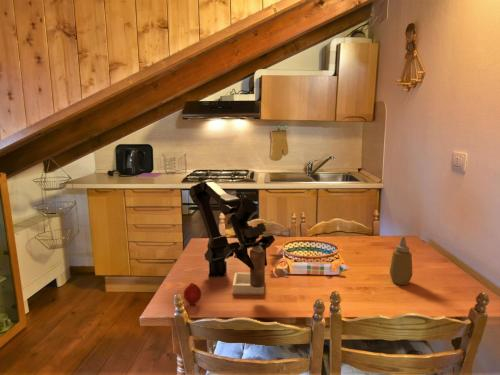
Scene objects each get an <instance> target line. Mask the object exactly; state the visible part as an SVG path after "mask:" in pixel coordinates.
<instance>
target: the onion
mask: <svg viewBox="0 0 500 375" xmlns="http://www.w3.org/2000/svg"><path fill="white" fill-rule="evenodd" d="M201 291H202V290H201V288H200V286H198V285H197V284H195V283H194V282H190V284H188V285H187V286H186V287H185V289H184V292H183V298H184V300H185V301H186V302H187V303H188V304H190V305H192V306H194V305H195V304H197V303H198V302H199V301H200V299H201V297H202V292H201Z"/></svg>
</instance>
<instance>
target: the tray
mask: <svg viewBox="0 0 500 375" xmlns="http://www.w3.org/2000/svg"><path fill="white" fill-rule="evenodd" d="M232 295H244V296H245V295H246V296H247V295H255V296H257V295H258V296H263V295H265V285H264V286H263V287H259V288H256V287H252V286H251V285H250V272H234V277H233V281H232Z"/></svg>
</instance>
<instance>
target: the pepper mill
mask: <svg viewBox="0 0 500 375" xmlns="http://www.w3.org/2000/svg"><path fill="white" fill-rule="evenodd" d="M249 257H250V259H251V261H252V263H253V266H254V270H252V269H250V268H249V273H250V285H251V286H252V287H256V288H259V287H263V286H264V287H265V285H266V283H265V282H266V280H265V279H266V274H265V273H266V271H265V270H266V266H265V251H264V250H263V248H262V247H252V248H251V249H250V250H249Z"/></svg>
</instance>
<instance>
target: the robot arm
mask: <svg viewBox="0 0 500 375" xmlns="http://www.w3.org/2000/svg"><path fill="white" fill-rule="evenodd" d="M188 195H189V197H190V199H191V201H192V203H193V204H194V205H195V206H197V207H198V209H199V213H200V216H201V219H202V222H203V224H204V228H205V231H206V234H207V237H208V242H207V245H206V247H207V250H206V252H205V253H204V260H205V261H207V262H208V270H209V271H208V272H209V273H208V277H225V276H226V274H227V272H228V268H227V267H228V266H227V263H228V262H227V261H226V259H229V258H232V257H233V259H238V260H239V261H240V262H242V263H243V265H245V266H247V267H248V268H249V270H250V269H252V270H254V266H253V263H252V261H251V259H250V254H249V252H248V251H249V250H248V249H252V248H253V247H262V248H263V250H264V251H265V267H267V266H268V260H267V248H270V247H271V246H272V244H273V243H274V242H275V241H276V239H275V236H274V235H273V234H265V235H264V233H265V232H266V231H267V228H266V226H265V223H263V222H261V223H257V224H256V226H253V225H250V224H249V221H250V220H251V219H252V217H253V216H254V215H255V214H256V212H257V210H258V206H257V203H255V201H253V200H251V199H248V196H245V197H242V198H241V199H240V198H239V197H237V196H236V195H232V194H228V193H227V192H225V190H223V189H222V188H221V187H220V186H219V185H218V184H217V183H216V182H215V180H214V179H207V180H202V181H200V182H198V183H196V184H194V185H191V187H190V188H189V189H188ZM211 199H213V200H214V201H215V202H216V203H217V204H218V209H219V210H220V213H222V214H223V215H224V216H227V215H228V216H229V215H231V216H229V217H228V220H227V225H231V227H232V230H233V232H234V236H233V237H234V239H237V240H238V241H234V242H229V240H228V237H227V236H226V235H222V234H221V232H220V230H219V226H218V223H217V220H216V218H215V214H214V211H213V209H212V206H211V203H210V201H211ZM260 236H261V238H260V239H259V237H260Z"/></svg>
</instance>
